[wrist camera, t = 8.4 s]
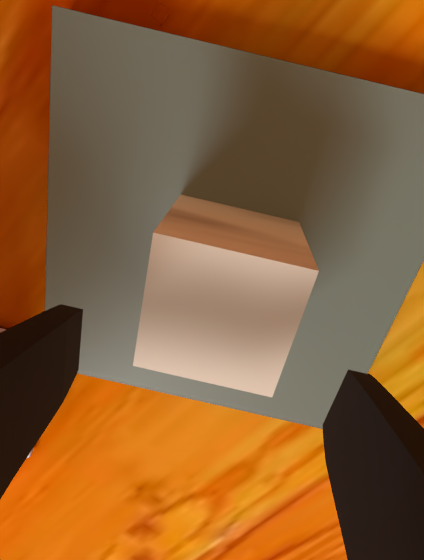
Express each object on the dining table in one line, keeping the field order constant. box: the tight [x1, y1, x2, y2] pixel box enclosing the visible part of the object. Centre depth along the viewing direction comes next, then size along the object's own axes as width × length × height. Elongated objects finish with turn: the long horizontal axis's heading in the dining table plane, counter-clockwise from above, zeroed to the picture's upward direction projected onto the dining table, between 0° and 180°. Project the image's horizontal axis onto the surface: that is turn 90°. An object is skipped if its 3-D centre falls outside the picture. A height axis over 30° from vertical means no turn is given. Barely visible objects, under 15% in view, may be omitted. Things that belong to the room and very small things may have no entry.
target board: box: [45, 5, 424, 429], centre depth 17 cm, size 16×16×1 cm
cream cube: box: [133, 194, 319, 397], centre depth 15 cm, size 5×5×5 cm
